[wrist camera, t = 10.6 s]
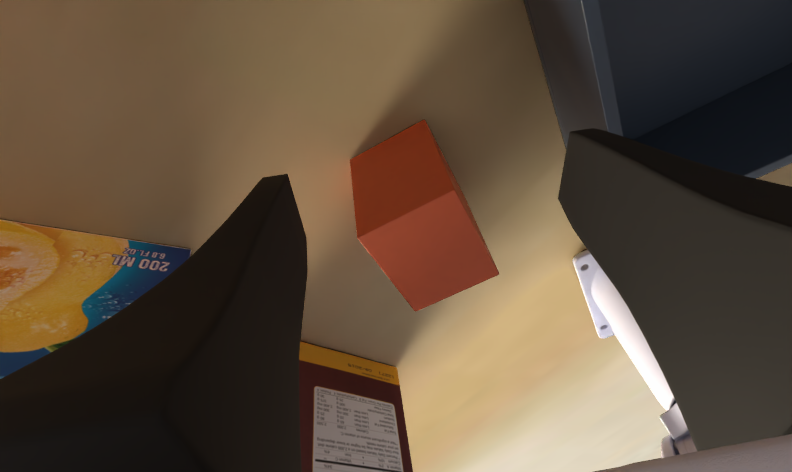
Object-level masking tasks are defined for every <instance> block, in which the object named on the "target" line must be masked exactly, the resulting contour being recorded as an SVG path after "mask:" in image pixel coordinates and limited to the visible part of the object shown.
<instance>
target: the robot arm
mask: <svg viewBox="0 0 792 472" xmlns="http://www.w3.org/2000/svg"><path fill="white" fill-rule="evenodd" d="M558 199H559V201H560V203H561V205H562V208H563V210H564V212H565V214H566V216H567V218H568V220H569V222H570V224H571V226H572V227H573V229H574V231H575V232H576V233H577V235H578V236H579V238H580V239H581V241H582V242H583V243H584V245H585V246H586V248H587V250H585V251H583V252H581V253H578V254H577V255H575V256H574V258H573V264H574V267H575V270H576V273H577V276H578V279H579V282H580V285H581V287H582V290H583V293H584V296H585V299H586V302H587V305H588V308H589V311H590V314H591V316H592V319H593V322H594V325H595V328H596V331H597V334H598V335H599V337H600V338H608V337H610V336H613V335H615V336H616V337H617V339H618V340H619V342H620V343H621V345H622V346H623V348H624V349H625V351H626V352H627V354H628V356H629V357H630V359H631V360H632V362H633V363H634V365H635V366H636V368H637V369H638V371H639V372H640V374H641V375H642V377H643V379H644V380H645V382H646V383H647V385H648V386H649V388H650V389H651V391H652V392H653V394H654V395H655V397H656V398H657V400H658V401H659V403H660V404H661V405H662V406H663V407H664V408H665V409H666V410H667V412H665V413H663V414H662V415H660V417H659V418H660V419H661V421H662V422H663V424H664V426H665V427H666V429H667V430H668V432H669V433H670V435H668V436H666V437H664V438H663V439H662V442H661V451H662V455H661V458H658V459H653V460H648V461H642V462H637V463H632V464H629V465H625V466H621V467H616V468H611V469H606V470H600V471H595V472H792V187H791V186H786V185H781V184H776V183H772V182H768V181H763V180H759V179H755V178H751V177H747V176H743V175H739V174H735V173H731V172H728V171H724V170H721V169H717V168H714V167H711V166H708V165H704V164H701V163H698V162H694V161H691V160H688V159H685V158H682V157H679V156H676V155H674V154H671V153H668V152H665V151H662V150H659V149H657V148H654V147H651V146H648V145H645V144H643V143H640V142H637V141H634V140H631V139H629V138H626V137H623V136H620V135H617V134H614V133H611V132H607V131H604V130H600V129H595V128H591V129H584V130H577V131H571V132H570V133H569V139H568V144H567V150H566V156H565V162H564V167H563V173H562V179H561V185H560V190H559V196H558ZM306 281H307V242H306V235H305V231H304V228H303V225H302V221H301V218H300V214H299V211H298V208H297V204H296V201H295V198H294V194H293V191H292V187H291V184H290V181H289V177H288V174H284V175H277V176H270V177H263V178H262V179H261V180H260V181H259V182H258V184H257V185H256V186H255V187H254V188H253V189H252V191H251V192H250V193H249V194H248V196H247V197H246V198H245V199H244V200H243V202H242V203H241V204H240V205H239V206H238V207H237V209H236V210H235V211H234V212H233V213H232V214H231V215H230V217H229V218H228V219H227V220H226V221H225V222H224V223H223V224H222V225H221V227H220V228H219V229H218V230H217V231H216V232H215V233H214V234H213V235H212V236H211V237H210V238H209V239H208V240H207V241H206V242H205V243H204V244H203V245H202V246H201V247H200V248H199V249H198V250H197V251H196V252H195V253H194V254H193V255H192V256H191V257H190V258H188V259H187V260H186V261H185V262H184V263H183V264H182V265H180V266H179V267H178V268H177V269H176V270H174V271H173V272H172V273H171V274H170V275H169V276H167V277H166V278H165V279H164V280H162V281H161V282H160V283H158V284H157V285H156V286H154V287H153V288H151V289H150V290H149V291H147V292H146V293H145V294H143V295H142V296H140V297H139V298H138V299H136V300H135V301H134V302H132V303H131V304H129V305H128V306H127V307H125V308H124V309H122V310H121V311H119V312H118V313H116V314H115V315H113V316H112V317H110V318H108V319H107V320H105V321H104V322H102V323H101V324H99V325H97V326H96V327H94V328H92V329H91V330H89V331H87V332H86V333H84V334H82V335H81V336H79V337H77V338H76V339H74V340H72V341H71V342H69V343H67V344H65V345H64V346H62V347H60V348H58V349H56V350H55V351H53V352H51V353H49V354H47V355H45V356H43V357H41V358H39V359H38V360H36V361H34V362H32V363H30V364H28V365H26V366H24V367H22V368H21V369H19V370H17V371H15V372H13V373H11V374H9V375H7V376H5V377H3V378H1V379H0V472H302V469H301V443H300V405H299V352H300V339H301V329H302V320H303V310H304V301H305V291H306Z"/></svg>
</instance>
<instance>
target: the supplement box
mask: <svg viewBox="0 0 792 472" xmlns="http://www.w3.org/2000/svg"><path fill="white" fill-rule="evenodd" d="M299 405H300V443H301V469H302V472H413V470H412V463H411V457H410V450H409V444H408V437H407V431H406V424H405V418H404V411H403V404H402V398H401V391H400V385H399V378H398V371H397V368H396V367H393V366H389V365H385V364H382V363H378V362H374V361H371V360H367V359H363V358H360V357H356V356H352V355H349V354H345V353H341V352H337V351H334V350H330V349H326V348H323V347H319V346H315V345H312V344H308V343H304V342H301V341H300V352H299Z"/></svg>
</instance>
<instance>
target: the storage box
mask: <svg viewBox="0 0 792 472" xmlns="http://www.w3.org/2000/svg"><path fill="white" fill-rule="evenodd" d="M523 1H524V4H525V8H526V11H527V14H528V18H529V21H530V25H531V28H532V32H533V35H534V39H535V42H536V46H537V49H538V53H539V56H540V60H541V63H542V67H543V70H544V74H545V77H546V81H547V84H548V88H549V91H550V95H551V98H552V102H553V105H554V109H555V112H556V116H557V119H558V123H559V126H560V130H561V133H562V137H563V140H564V144H565V147H566V150H567V144H568V139H569V133H570V132H571V131H577V130H584V129H591V128H595V129H600V130H604V131H607V132H611V133H614V134H617V135H620V136H623V137H626V138H629V139H631V140H634V141H637V142H640V143H643V144H645V145H648V146H651V147H654V148H657V149H659V150H662V151H665V152H668V153H671V154H674V155H676V156H679V157H682V158H685V159H688V160H691V161H694V162H698V163H701V164H704V165H708V166H711V167H714V168H717V169H721V170H724V171H728V172H731V173H735V174H739V175H743V176H747V177H751V178H755V179H756V178H759V177H761V176H763V175H765V174H768V173H770V172H772V171H774V170H777V169H779V168H781V167H784V166H786V165H788V164H790V163H792V0H523Z"/></svg>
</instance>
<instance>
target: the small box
mask: <svg viewBox="0 0 792 472" xmlns="http://www.w3.org/2000/svg"><path fill="white" fill-rule="evenodd" d="M350 165H351V176H352V186H353V197H354V208H355V219H356V230H357V238H358V240H359V241H360V242H361V243H362V245H363V246H364V247H365V249H366V250H367V251H368V252H369V254H370V255H371V256H372V257H373V259H374V260H375V261H376V263H377V264H378V265H379V266H380V268H381V269H382V270H383V271H384V273H385V274H386V275H387V276H388V278H389V279H390V280H391V282H392V283H393V284H394V285H395V287H396V288H397V289H398V290H399V292H400V293H401V294H402V296H403V297H404V298H405V299H406V301H407V302H408V303H409V304H410V306H411V307H412V308H413V310H414V311H418V310H420V309H423V308H425V307H427V306H429V305H432V304H434V303H436V302H438V301H441V300H443V299H445V298H447V297H450V296H452V295H454V294H456V293H459V292H461V291H463V290H465V289H468V288H470V287H472V286H474V285H476V284H479V283H481V282H483V281H485V280H488V279H490V278H492V277H494V276H497V275H499V272H498V270H497V268H496V265H495V263H494V261H493V259H492V257H491V254H490V252H489V250H488V248H487V246H486V243H485V241H484V239H483V237H482V234H481V232H480V230H479V228H478V226H477V223H476V221H475V219H474V217H473V215H472V212H471V210H470V208H469V206H468V204H467V201H466V199H465V197H464V195H463V193H462V191H461V189H460V187H459V185H458V183H457V181H456V179H455V177H454V175H453V173H452V172H451V170H450V168H449V166H448V164H447V162H446V160H445V158H444V156H443V154H442V152H441V150H440V148H439V146H438V144H437V142H436V140H435V138H434V136H433V134H432V133H431V131H430V129H429V127H428V125H427V123H426V121H425V120H422V121H420V122H418V123H417V124H415V125H413V126H411V127H409V128H407V129H406V130H404V131H402V132H400V133H398V134H396V135H395V136H393V137H391V138H389V139H387V140H385V141H384V142H382V143H380V144H378V145H376V146H374V147H373V148H371V149H369V150H367V151H365V152H363V153H362V154H360V155H358V156H356V157H354V158H352V159H351V160H350Z"/></svg>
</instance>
